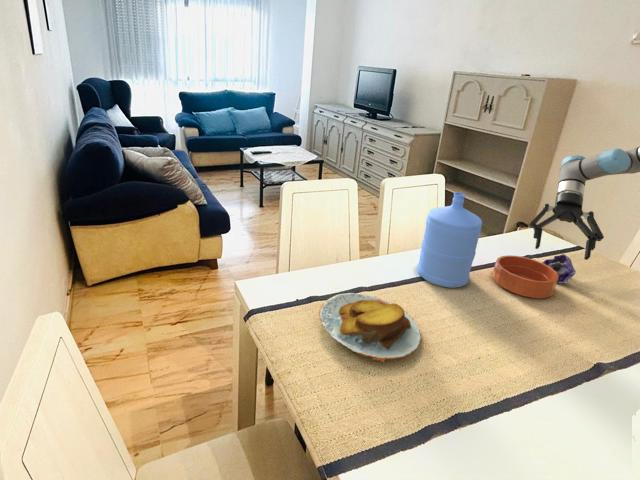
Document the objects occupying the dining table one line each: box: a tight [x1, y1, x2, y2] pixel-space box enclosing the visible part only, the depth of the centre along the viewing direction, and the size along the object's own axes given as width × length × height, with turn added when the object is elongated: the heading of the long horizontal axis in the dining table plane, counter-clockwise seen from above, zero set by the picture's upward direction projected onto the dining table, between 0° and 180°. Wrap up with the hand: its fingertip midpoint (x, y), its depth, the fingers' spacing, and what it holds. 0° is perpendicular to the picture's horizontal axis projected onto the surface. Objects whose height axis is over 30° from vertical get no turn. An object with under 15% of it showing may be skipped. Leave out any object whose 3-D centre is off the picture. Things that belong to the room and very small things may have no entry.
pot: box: [491, 255, 559, 299], centre depth 121 cm, size 17×17×6 cm
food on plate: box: [318, 292, 422, 362], centre depth 97 cm, size 25×25×7 cm
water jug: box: [416, 192, 483, 289], centre depth 120 cm, size 16×16×28 cm
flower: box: [541, 253, 577, 285], centre depth 126 cm, size 9×9×10 cm
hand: (561, 252), depth 125 cm, fingers open, 13 cm apart
